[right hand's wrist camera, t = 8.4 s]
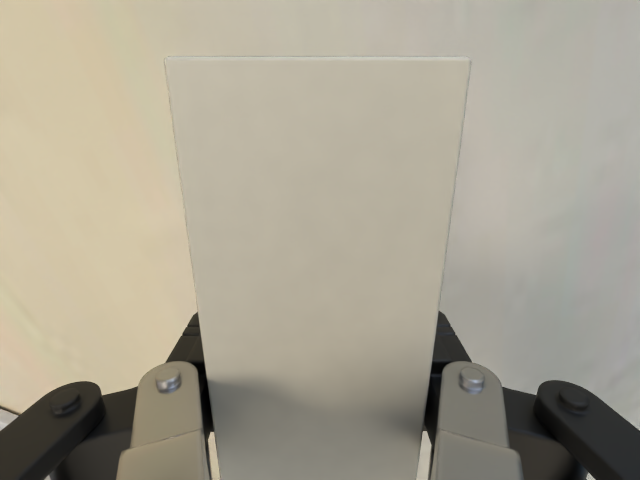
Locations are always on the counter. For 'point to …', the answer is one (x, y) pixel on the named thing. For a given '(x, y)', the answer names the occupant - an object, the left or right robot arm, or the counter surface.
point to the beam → (318, 252)
